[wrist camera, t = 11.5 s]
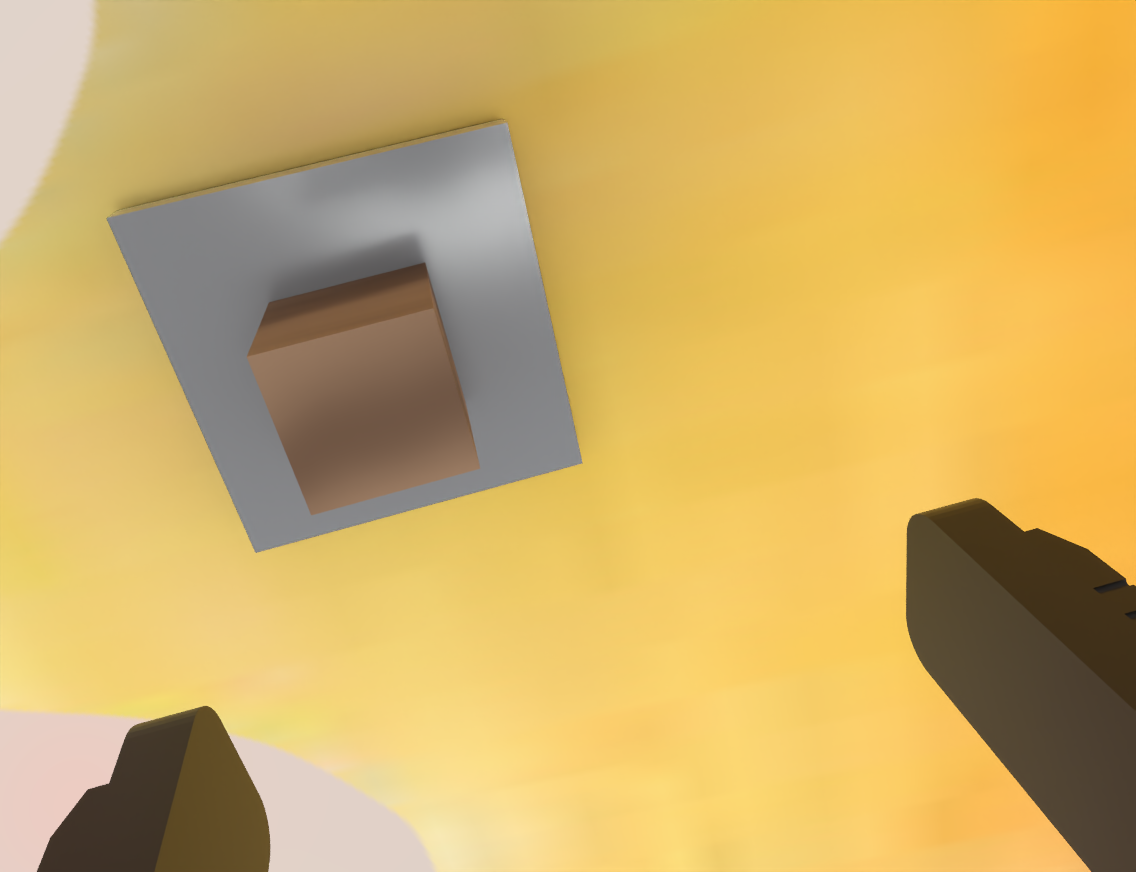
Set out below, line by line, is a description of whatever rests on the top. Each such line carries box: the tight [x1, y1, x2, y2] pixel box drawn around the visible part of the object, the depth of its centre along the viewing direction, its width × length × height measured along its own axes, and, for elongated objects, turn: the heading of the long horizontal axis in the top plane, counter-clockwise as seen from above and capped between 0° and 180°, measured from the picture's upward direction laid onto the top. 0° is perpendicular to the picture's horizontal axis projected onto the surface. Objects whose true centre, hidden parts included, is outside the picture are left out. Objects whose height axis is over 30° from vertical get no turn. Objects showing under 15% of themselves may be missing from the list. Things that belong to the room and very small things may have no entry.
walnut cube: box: [247, 263, 480, 515], centre depth 26 cm, size 5×5×5 cm
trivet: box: [107, 119, 582, 553], centre depth 29 cm, size 12×12×1 cm
